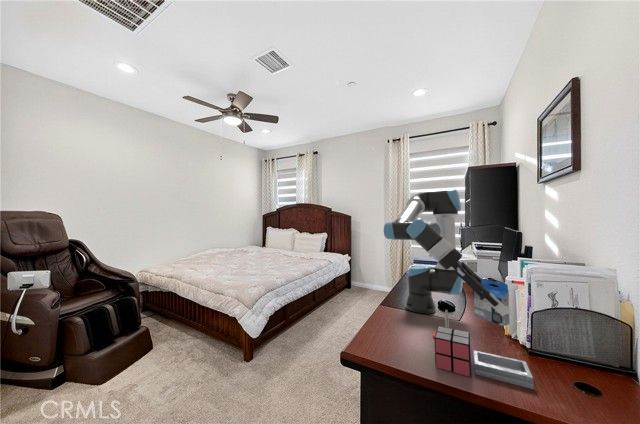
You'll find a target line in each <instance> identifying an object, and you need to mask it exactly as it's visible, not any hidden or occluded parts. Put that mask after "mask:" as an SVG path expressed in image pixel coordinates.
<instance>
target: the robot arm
mask: <svg viewBox="0 0 640 424" xmlns="http://www.w3.org/2000/svg"><path fill="white" fill-rule="evenodd" d="M460 211H462V204H461V199H460V195H459V193H458V190H457V189H455V188H445V189H435V190H433V189H432V190H424V191H420V192H418V193H417V194H415V195H413V196H411V197H410V198H409V199H408V200H407V202H406V204H405V207H404V208H403V209H402V211H401V213H400V214H398V216H397V217H396V219H395V220H394V221H393V222H392V221H389V222H385V223H384V226H383V235H384V238H385V239H387V240H395V241H396V240H397V241H398V240H399V241H401V240H403V241H404V240H405V241H408V240H409V241H415V242H416V243H417V244H418V245H419V246H421V248H422V249H424V250H425V252H426V253H428V255H429V257H430V258H433V259H434V260H435V261H437V264H436V265H435V266H434V269H432V267H431V266H430V265H414V266H410V267H408V269H407V270H408V271H407V278H408V279H407V280H408V281H407V284H408V295H407V298H406V301H405V308H406V307H407V308H408V309H409V310H411V311H414V312H418V313H417V314H419V313H425V314H424V315H430V313H432V314H435V313H436V312H437V308H436V307H437V306H436V304H435V301H434V298H433V295H432V292H433V293H440V294H445V295H449V296H450V295H451V296H452V295H453V296H459V295H461V294H462V290H463V284H464V283H465V284H466V285H467V286H469V288H471V290H473V292H474V291H475V292H476V293H477V294H478V295H479V296H480V299H481V300H483V299H484V300H485V301H487V302H488V303H489V304H490V305H491V306H492V307H493V308H494V309H495V310H496V311H497V312H498V313H499V314H500V315H501V316H504V315H506V314H507V313H509V314H510V312H511V310H510V308H509V309H508V308H507V307H506V306H505V305H503V304H502V303H501V302H500V301H499V300H498V299H497V298H496V297H495V296H494V295H493V294H491V293H490V292H489V291H487V290H486V289H485V288H484V287H483V286H482V285H481V279H482V278H481V277H480V276H479V275H477V274H476V273H475V272H474V271H473V270H472V269H471V268H470V267H468V265H467V264H466V263H465V262H463V261H460V260H461V259H462V258H463V254H462V253H461V252H460V251H459V250H457V248H456V247H457V245H456V243H457V242H456V223H455V222H456V221H455V218H456V217H457V216H458V215H459V212H460ZM431 212H432V216H433V217H435V219H436V220H435V221H433V220H427V221H425V220H424V219H422V218H421V217H419V216H420V215H421V214H422V213H431ZM482 292H483V293H482ZM409 310H408V311H409ZM411 311H410V312H411ZM435 311H436V312H435ZM414 312H413V313H414Z"/></svg>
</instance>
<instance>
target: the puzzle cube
mask: <svg viewBox="0 0 640 424" xmlns="http://www.w3.org/2000/svg"><path fill="white" fill-rule="evenodd" d="M435 332H436V334H435V338H434V337H433V338H434V360H435V361H434V362H435V363H434V364H435V366H434V367H435V368H436V369H440V370H443V371H447V372H450V373H452V372H453V373H454V374H458V375H461V376H464V377H468V378H471V377H472V358H471V357H472V354H471V334H470V332H469V331H464V330H463V331H462V330H458V329H453V328H450V327H449V328H446V327H445V326H444V327H443V326H438V327H437V328H436V331H435Z"/></svg>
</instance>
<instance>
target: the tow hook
mask: <svg viewBox="0 0 640 424" xmlns="http://www.w3.org/2000/svg"><path fill="white" fill-rule="evenodd" d="M444 314H445V315H444V325H445V326H444V328H449V329H450V323H449V315H448V309H445V313H444ZM435 334H436V331H434V332H433V333H432V337H433V338H435Z"/></svg>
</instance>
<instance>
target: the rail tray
mask: <svg viewBox="0 0 640 424" xmlns="http://www.w3.org/2000/svg"><path fill="white" fill-rule="evenodd" d="M473 362H474V363H473V364H474V373H475V375H478V376H481V377H485V378H489V379H492V380H496V381H501V382H504V383H507V384H513V385H516V386H519V387H523V388H527V389H531V390H535V386H534V377H533V375H532V373H531V370H530V368H529V366H528V363H527V362H526V361H525V360H520V359H515V358H511V357H506V356H502V355H498V354H492V353H487V352H484V351H483V352H482V351H478V350H476V349H475V350H474V349H473Z"/></svg>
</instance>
